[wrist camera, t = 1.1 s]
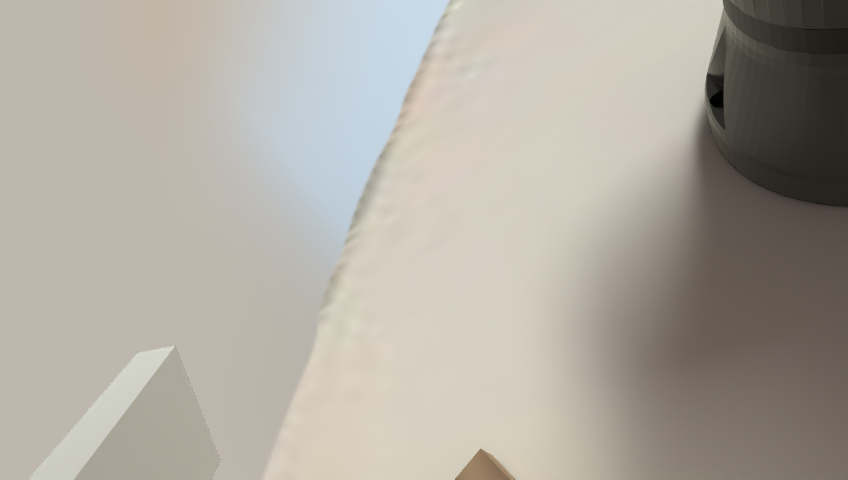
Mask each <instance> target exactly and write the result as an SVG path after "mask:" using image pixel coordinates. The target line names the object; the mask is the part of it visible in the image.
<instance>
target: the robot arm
mask: <svg viewBox="0 0 848 480" xmlns="http://www.w3.org/2000/svg"><path fill="white" fill-rule="evenodd" d="M723 5H724V8H723V12H722V16H721V20H720V24H719V28H718V32H717V36H716V40H715V44H714V48H713V52H712V56H711V60H710V64H709V68H708V72H707V76H706V83H705V104H706V110H707V114H708V118H709V122H710V127H711V131H712V134H713V137H714V139H715V142H716V144H717V146H718V148H719V149H720V151H721V152H722V154H723V155H724V157H725V158H726V159H727V160H728V161H729V162H730V163H731V164H732V165H733V166H734V167H735V168H736V169H737V170H738V171H739V172H741V173H742V174H743V175H745V176H746V177H748V178H749V179H751V180H752V181H754V182H756V183H757V184H759V185H761V186H763V187H765V188H768V189H770V190H772V191H775V192H777V193H780V194H783V195H786V196H789V197H793V198H796V199H800V200H805V201H809V202H814V203H821V204H829V205H840V206H848V0H723ZM220 460H221V459H220V457H219V455H218V452H217V450H216V447H215V444H214V442H213V439H212V437H211V434H210V432H209V429H208V426H207V424H206V421H205V419H204V416H203V414H202V411H201V409H200V406H199V404H198V401H197V398H196V396H195V393H194V391H193V388H192V386H191V383H190V381H189V378H188V376H187V373H186V370H185V368H184V365H183V363H182V360H181V358H180V355H179V353H178V350H177V348H176V346H170V347H165V348H160V349H155V350H150V351H145V352H140V353H137V354H136V355H135V356H134V358H133V359H132V360H131V361H130V362H129V363H128V365H127V366H126V367H125V368H124V369H123V370H122V372H121V373H120V374H119V375H118V376H117V377H116V379H115V380H114V381H113V382H112V383H111V384H110V385H109V387H108V388H107V389H106V390H105V391H104V392H103V394H102V395H101V396H100V397H99V398H98V399H97V400H96V402H95V403H94V404H93V405H92V406H91V407H90V409H89V410H88V411H87V412H86V413H85V414H84V416H83V417H82V418H81V419H80V420H79V421H78V423H77V424H76V425H75V426H74V427H73V428H72V430H71V431H70V432H69V433H68V434H67V435H66V436H65V438H64V439H63V440H62V441H61V442H60V443H59V445H58V446H57V447H56V448H55V449H54V450H53V452H52V453H51V454H50V455H49V456H48V457H47V458H46V460H45V461H44V462H43V463H42V464H41V465H40V467H39V468H38V469H37V470H36V471H35V473H34V474H33V475H32V476H31V477H30V478H29V479H28V480H212V478H213V476H214V474H215V471H216V469H217V467H218V465H219V462H220Z"/></svg>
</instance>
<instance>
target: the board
mask: <svg viewBox="0 0 848 480" xmlns="http://www.w3.org/2000/svg"><path fill="white" fill-rule="evenodd" d="M455 480H515V479H514V478H513V477H512V476H511V475H510V474H509V472H508V471H507V470H506V469H505V468H504V467H503V466H502V465H501V464H500V463H499V462H498V461H497V460H496V459H495V458H494V457H493V456H492V455H491V454H489V453H487V452H485V451H484V450H482V449H480V450H479V451H478V452H477V453H476V455H475V456H474V457H473V458H472V459H471V461H470V462H469V463H468V464H467V466H466V467H465V468H464V469H463V470H462V472H461V473H460V474H459V475H458V476H457V478H456V479H455Z"/></svg>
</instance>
